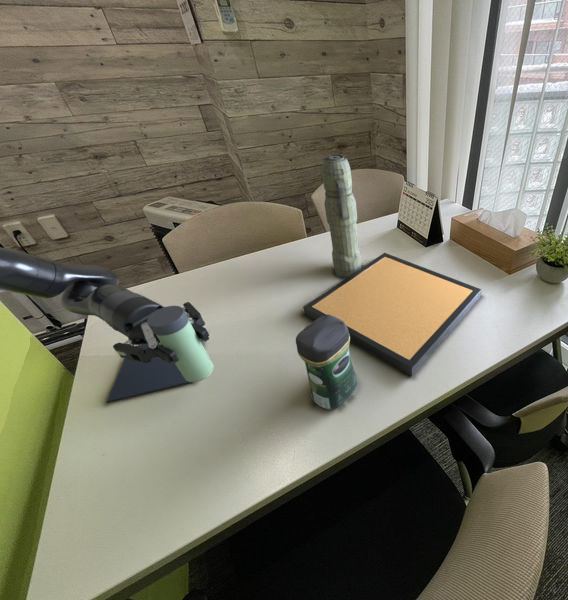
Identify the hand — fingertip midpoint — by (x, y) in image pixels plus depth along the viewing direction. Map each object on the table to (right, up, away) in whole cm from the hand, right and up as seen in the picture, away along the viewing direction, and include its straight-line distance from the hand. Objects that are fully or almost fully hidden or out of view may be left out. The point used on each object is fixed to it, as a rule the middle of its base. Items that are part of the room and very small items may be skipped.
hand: (190, 346), depth 55 cm
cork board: (+34, +6, +36) cm, 50 cm away
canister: (-2, -6, +6) cm, 8 cm away
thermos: (+19, +17, +51) cm, 57 cm away
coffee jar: (+22, -12, +14) cm, 28 cm away
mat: (-20, -7, +20) cm, 29 cm away
